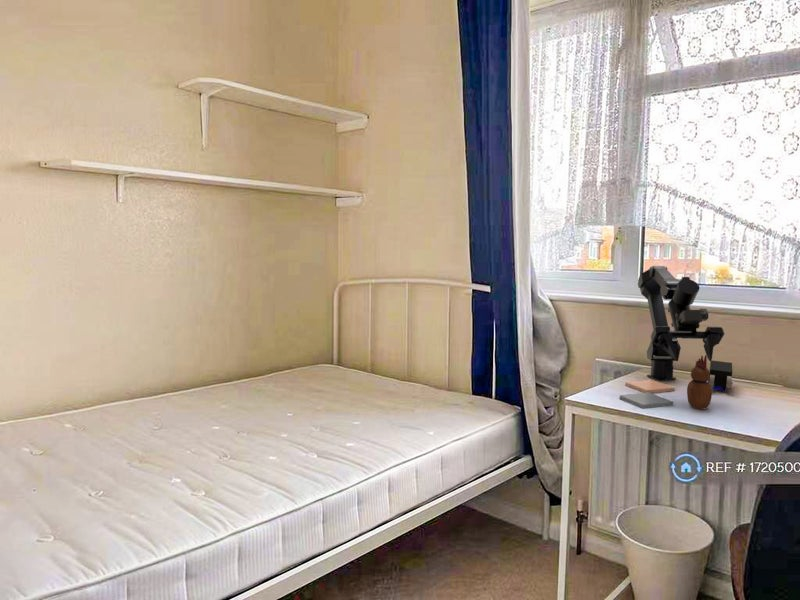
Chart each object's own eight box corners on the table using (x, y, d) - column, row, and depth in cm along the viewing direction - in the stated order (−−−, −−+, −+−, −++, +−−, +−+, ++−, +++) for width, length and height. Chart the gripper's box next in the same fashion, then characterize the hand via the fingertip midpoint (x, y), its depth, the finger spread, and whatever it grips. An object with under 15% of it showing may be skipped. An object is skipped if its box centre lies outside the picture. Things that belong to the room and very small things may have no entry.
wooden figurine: (713, 411, 162) (716, 356, 160) (690, 410, 163) (693, 356, 161) (706, 404, 168) (709, 351, 166) (684, 403, 169) (686, 351, 168)
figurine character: (733, 400, 177) (731, 383, 190) (734, 375, 175) (732, 359, 189) (707, 397, 180) (707, 380, 193) (708, 373, 178) (708, 357, 192)
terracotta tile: (625, 385, 189) (625, 382, 189) (651, 382, 192) (652, 379, 192) (646, 393, 180) (646, 390, 179) (674, 390, 182) (674, 387, 182)
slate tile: (619, 398, 174) (619, 395, 174) (648, 395, 177) (648, 392, 177) (642, 408, 165) (642, 404, 165) (672, 405, 168) (673, 401, 168)
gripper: (655, 298, 174) (666, 343, 164) (723, 298, 172) (738, 344, 162) (646, 321, 182) (656, 365, 173) (711, 322, 180) (724, 366, 171)
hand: (693, 359), depth 169 cm, fingers open, 9 cm apart
